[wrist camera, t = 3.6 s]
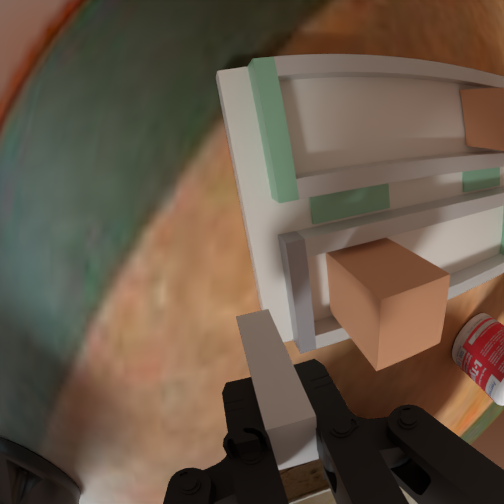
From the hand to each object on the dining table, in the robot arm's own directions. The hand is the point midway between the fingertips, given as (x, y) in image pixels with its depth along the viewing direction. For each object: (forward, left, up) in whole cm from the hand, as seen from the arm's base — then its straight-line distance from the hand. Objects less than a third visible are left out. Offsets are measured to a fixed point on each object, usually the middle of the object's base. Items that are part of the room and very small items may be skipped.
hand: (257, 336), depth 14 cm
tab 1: (+7, 0, -4) cm, 8 cm away
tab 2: (+19, +9, -4) cm, 21 cm away
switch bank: (+13, +4, -5) cm, 15 cm away
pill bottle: (+22, -13, -5) cm, 26 cm away
